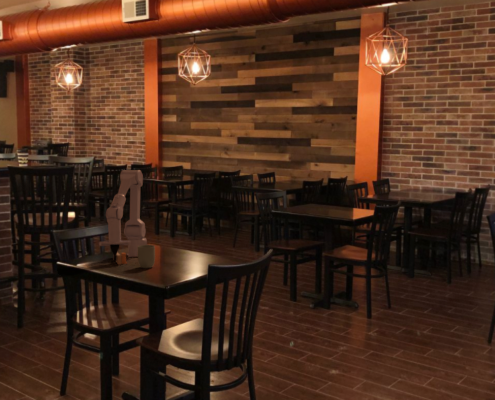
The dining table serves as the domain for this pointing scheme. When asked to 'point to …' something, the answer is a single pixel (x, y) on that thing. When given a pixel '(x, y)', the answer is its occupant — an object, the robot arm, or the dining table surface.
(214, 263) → the dining table surface
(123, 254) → the latch stile
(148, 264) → the cup
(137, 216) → the robot arm
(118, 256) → the gate rail
